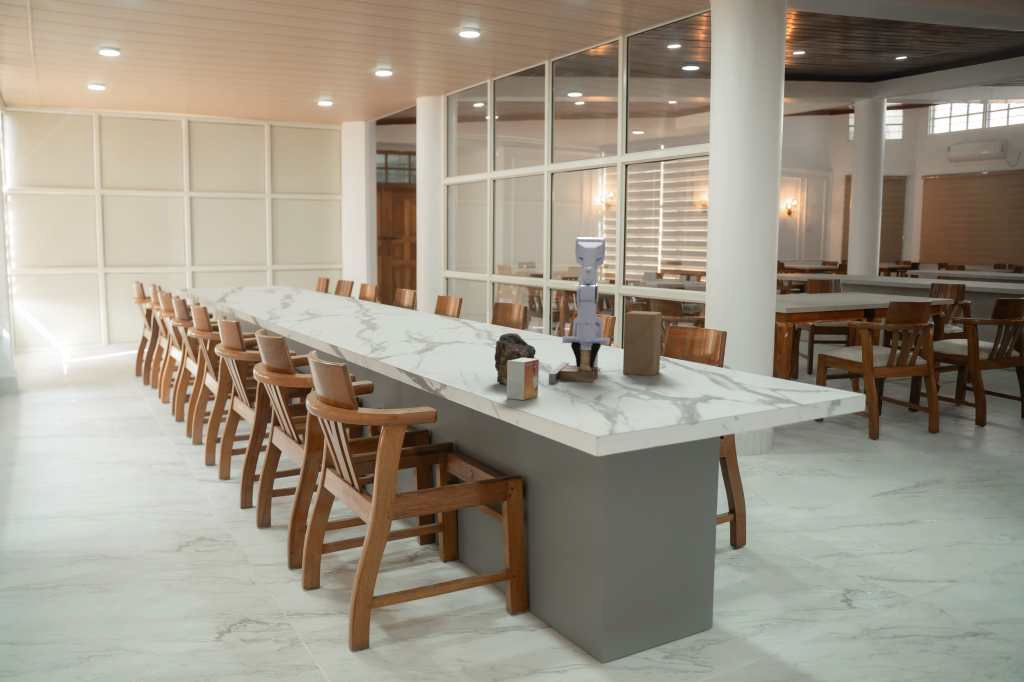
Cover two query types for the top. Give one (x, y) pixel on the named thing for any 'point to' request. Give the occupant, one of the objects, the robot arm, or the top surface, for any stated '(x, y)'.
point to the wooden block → (642, 343)
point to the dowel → (585, 359)
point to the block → (578, 374)
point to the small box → (522, 378)
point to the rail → (556, 373)
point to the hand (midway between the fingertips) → (585, 366)
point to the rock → (510, 353)
